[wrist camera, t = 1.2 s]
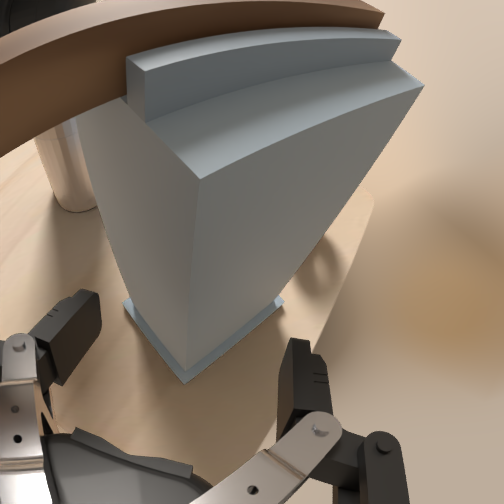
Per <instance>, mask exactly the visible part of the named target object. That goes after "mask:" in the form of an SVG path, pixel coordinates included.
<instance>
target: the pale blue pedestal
mask: <svg viewBox="0 0 504 504" xmlns="http://www.w3.org/2000/svg"><path fill="white" fill-rule="evenodd" d="M400 42H401V39H400V38H398V37H397V36H395V35H393V34H392V33H390V32H389V31H387V30H379V29H367V28H350V27H294V28H276V29H264V30H254V31H245V32H237V33H229V34H223V35H216V36H210V37H205V38H199V39H194V40H189V41H184V42H180V43H175V44H171V45H167V46H163V47H159V48H155V49H151V50H147V51H144V52H140V53H137V54H133V55H130V56H127V57H126V83H127V95H124V96H122V97H119V98H117V99H114V100H112V101H109V102H107V103H105V104H102V105H100V106H97V107H95V108H93V109H91V110H88V111H86V112H84V113H82V114H80V115H77V116H75V119H76V124H77V129H78V133H79V138H80V142H81V146H82V151H83V155H84V159H85V163H86V167H87V170H88V174H89V178H90V181H91V185H92V189H93V192H94V195H95V199H96V202H97V206H98V209H99V212H100V215H101V218H102V221H103V225H104V228H105V231H106V234H107V237H108V240H109V242H110V245H111V248H112V251H113V254H114V257H115V259H116V262H117V265H118V267H119V270H120V273H121V275H122V278H123V280H124V283H125V286H126V288H127V291H128V293H129V296H130V298H128V299H127V300H125V301H124V302H122V304H123V306H124V307H125V309H126V310H127V311H128V313H129V314H130V316H131V317H132V319H133V320H134V321H135V323H136V324H137V325H138V327H139V328H140V330H141V331H142V332H143V334H144V335H145V336H146V338H147V339H148V340H149V342H150V343H151V344H152V346H153V347H154V348H155V350H156V351H157V352H158V353H159V355H160V356H161V357H162V358H163V360H164V361H165V362H166V364H167V365H168V366H169V367H170V368H171V370H172V371H173V372H174V373H175V375H176V376H177V377H178V378H179V379H180V381H181V382H182V383H183V384H184V385H185V384H186V383H188V382H189V381H190V380H192V379H193V378H194V377H195V376H197V375H198V374H199V373H201V372H202V371H203V370H204V369H206V368H207V367H208V366H209V365H211V364H212V363H213V362H214V361H216V360H217V359H218V358H219V357H221V356H222V355H223V354H224V353H226V352H227V351H228V350H229V349H230V348H232V347H233V346H234V345H235V344H237V343H238V342H239V341H240V340H241V339H243V338H244V337H245V336H246V335H247V334H249V333H250V332H251V331H252V330H253V329H255V328H256V327H257V326H258V325H259V324H261V323H262V322H263V321H264V320H265V319H266V318H268V317H269V316H270V315H271V314H272V313H273V312H275V311H276V310H277V309H278V308H279V307H280V306H282V305H283V303H284V300H283V299H282V298H281V297H280V296H279V294H280V292H281V291H282V290H283V288H284V287H285V286H286V284H287V283H288V282H289V280H290V279H291V278H292V276H293V275H294V274H295V273H296V271H297V270H298V269H299V267H300V266H301V265H302V263H303V262H304V261H305V259H306V258H307V257H308V255H309V254H310V252H311V251H312V250H313V248H314V247H315V246H316V244H317V243H318V242H319V240H320V239H321V238H322V236H323V235H324V233H325V232H326V231H327V229H328V228H329V227H330V225H331V224H332V222H333V221H334V220H335V218H336V217H337V215H338V214H339V213H340V211H341V210H342V208H343V207H344V206H345V204H346V203H347V201H348V200H349V199H350V197H351V196H352V194H353V193H354V191H355V190H356V189H357V187H358V186H359V184H360V183H361V181H362V180H363V178H364V177H365V175H366V174H367V172H368V171H369V170H370V168H371V167H372V165H373V164H374V162H375V161H376V159H377V158H378V156H379V155H380V154H381V152H382V151H383V149H384V147H385V146H386V144H387V143H388V142H389V140H390V139H391V137H392V136H393V134H394V132H395V131H396V129H397V128H398V126H399V125H400V123H401V122H402V120H403V119H404V117H405V115H406V114H407V112H408V111H409V109H410V108H411V106H412V105H413V103H414V102H415V100H416V98H417V97H418V95H419V93H420V92H421V90H422V89H423V87H424V84H423V83H421V82H420V81H419V80H417V79H416V78H415V77H413V76H412V75H410V74H409V73H408V72H407V71H405V70H404V69H403V68H401V67H400V66H398V65H397V64H395V63H394V62H392V61H391V59H392V57H393V55H394V54H395V52H396V50H397V48H398V46H399V44H400Z"/></svg>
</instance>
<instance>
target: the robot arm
mask: <svg viewBox="0 0 504 504" xmlns="http://www.w3.org/2000/svg"><path fill="white" fill-rule="evenodd" d="M95 2H96V0H0V38H1V37H3V36H5V35H8V34H10V33H12V32H14V31H16V30H18V29H21V28H23V27H25V26H28V25H30V24H33V23H35V22H38V21H40V20H43V19H45V18H48V17H51V16H53V15H56V14H59V13H62V12H65V11H68V10H71V9H74V8H78V7H81V6H84V5H88V4H92V3H95ZM34 141H35V144H36V147H37V150H38V153H39V155H40V158H41V161H42V164H43V166H44V169H45V171H46V174H47V177H48V179H49V182H50V184H51V187H52V189H53V192H54V194H55V196H56V199H57V201H58V203H59V204H60V206H61V207H62V208H64V209H66V210H67V211H71V212H82V211H86V210H89V209H92V208H94V207H96V206H97V202H96V199H95V195H94V192H93V189H92V185H91V181H90V178H89V174H88V170H87V167H86V163H85V159H84V155H83V151H82V146H81V142H80V138H79V133H78V129H77V124H76V119H75V117H73V118H71V119H69V120H67V121H65V122H63V123H61V124H59V125H57V126H55V127H53V128H51V129H49V130H47V131H45V132H43V133H42V134H40V135H38V136H36V137H34ZM101 326H102V320H101V311H100V301H99V295H98V293H95V292H92V291H89V290H85V289H80V290H79V291H78V292H77V293H76V294H75V295H74V296H73V297H68V298H66V299H64V300H62V301H60V302H58V303H57V304H56V305H55V306H54V307H53V308H52V310H50V311H49V312H48V313H47V316H46V315H45V316H44V317H43V318H42V319H41V320H40V321H39V322H38V324H37V325H36V326H35V327H34V328H33V329H32V330H31V331H30V332H29V333H28V334H24V333H19V334H15V335H12V336H10V337H9V338H8V339H7V340H6V341H2V340H0V504H284V503H285V502H286V501H287V500H288V499H289V498H290V497H291V496H292V495H293V494H294V493H295V492H296V491H297V490H298V489H299V488H300V487H301V486H302V485H303V484H304V483H305V482H306V481H307V479H308V478H309V477H310V478H313V479H316V480H319V481H321V482H325V483H328V484H331V485H333V504H410V503H409V495H408V488H407V482H406V475H405V469H404V463H403V457H402V451H401V447H400V444H399V442H398V440H397V439H396V438H395V437H394V436H393V435H391V434H389V433H387V432H383V431H376V432H373V433H371V434H369V435H368V436H367V437H363V436H360V435H357V434H354V433H351V432H348V431H346V430H344V429H343V428H342V426H341V424H340V422H339V421H338V420H337V419H336V418H335V417H334V416H333V410H332V403H331V395H330V388H329V380H328V376H327V375H328V373H327V366H326V363H325V362H324V360H323V359H322V357H321V356H320V355H317V354H311V348H310V341H309V340H303V339H297V338H290V340H289V343H288V346H287V349H286V352H285V355H284V358H283V361H282V364H281V367H280V372H279V379H278V408H277V434H276V444H274V445H273V446H272V447H271V448H270V449H268V450H266V449H263V450H261V451H260V452H258V453H257V454H256V455H255V456H253V457H252V458H251V459H250V460H248V461H247V462H246V463H245V464H243V465H242V466H241V467H240V468H238V469H237V470H236V471H234V472H233V473H232V474H231V475H229V476H228V477H227V478H225V479H224V480H222V481H221V482H220V483H218V484H217V485H216V486H214V487H213V486H212V485H211V484H210V483H208V482H207V481H206V480H204V479H202V478H201V477H199V476H197V475H195V474H193V473H192V471H193V466H192V465H188V464H184V463H180V462H176V461H172V460H168V459H164V458H157V457H145V456H134V455H129V454H126V453H124V452H123V451H121V450H120V449H118V448H116V447H115V446H113V445H112V444H110V443H109V442H107V441H106V440H104V439H103V438H101V437H98V436H96V435H93V434H91V433H88V432H86V431H84V430H81V429H79V428H77V427H76V428H75V430H74V432H73V433H72V434H67V433H59V431H58V427H57V423H56V418H55V412H54V406H53V400H52V393H51V388H50V386H51V384H52V383H53V382H54V383H56V384H58V385H61V386H63V385H64V383H65V382H66V380H67V379H68V378H69V376H70V375H71V373H72V372H73V370H74V369H75V368H76V366H77V365H78V363H79V362H80V360H81V359H82V358H83V356H84V355H85V354H86V352H87V351H88V349H89V348H90V347H91V345H92V344H93V342H94V341H95V340H96V338H97V337H98V336H99V334H100V331H101Z"/></svg>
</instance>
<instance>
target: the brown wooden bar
mask: <svg viewBox="0 0 504 504" xmlns="http://www.w3.org/2000/svg"><path fill="white" fill-rule="evenodd" d="M384 14H385V13H383V12H382V11H380V10H378V9H376V8H374V7H373V6H371V5H369V4H367V3H365V2H363V1H361V0H103V1H99V2H95V3H92V4H88V5H84V6H81V7H78V8H74V9H71V10H68V11H65V12H62V13H59V14H56V15H53V16H51V17H48V18H45V19H43V20H40V21H38V22H35V23H33V24H30V25H28V26H25V27H23V28H21V29H18V30H16V31H14V32H12V33H10V34H8V35H5V36H3V37H1V38H0V158H1V157H2V156H4V155H5V154H7V153H9V152H10V151H12V150H14V149H15V148H17V147H19V146H20V145H22V144H24V143H25V142H27V141H29V140H31V139H33V138H34V137H36V136H38V135H40V134H42V133H43V132H45V131H47V130H49V129H51V128H53V127H55V126H57V125H59V124H61V123H63V122H65V121H67V120H69V119H71V118H73V117H75V116H77V115H80V114H82V113H84V112H86V111H88V110H91V109H93V108H95V107H97V106H100V105H102V104H105V103H107V102H109V101H112V100H114V99H117V98H119V97H122V96H124V95H127V83H126V57H127V56H130V55H133V54H137V53H140V52H144V51H147V50H151V49H155V48H159V47H163V46H167V45H171V44H175V43H180V42H184V41H189V40H194V39H199V38H205V37H210V36H216V35H223V34H229V33H237V32H245V31H254V30H264V29H276V28H294V27H350V28H367V29H378V27H379V25H380V22H381V21H382V18H383V16H384Z"/></svg>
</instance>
